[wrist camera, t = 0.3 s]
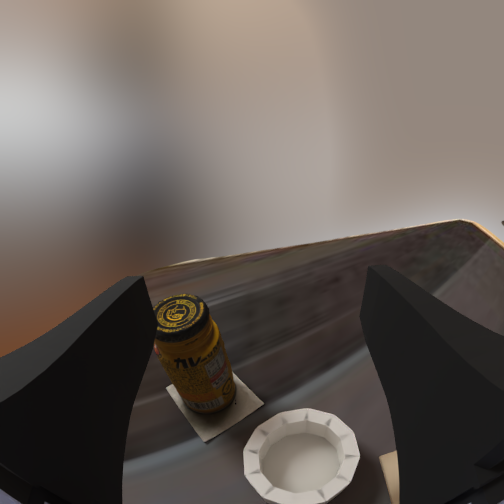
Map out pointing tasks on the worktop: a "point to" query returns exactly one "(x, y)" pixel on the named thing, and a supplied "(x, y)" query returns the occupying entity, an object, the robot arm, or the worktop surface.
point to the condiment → (199, 367)
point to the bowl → (301, 457)
